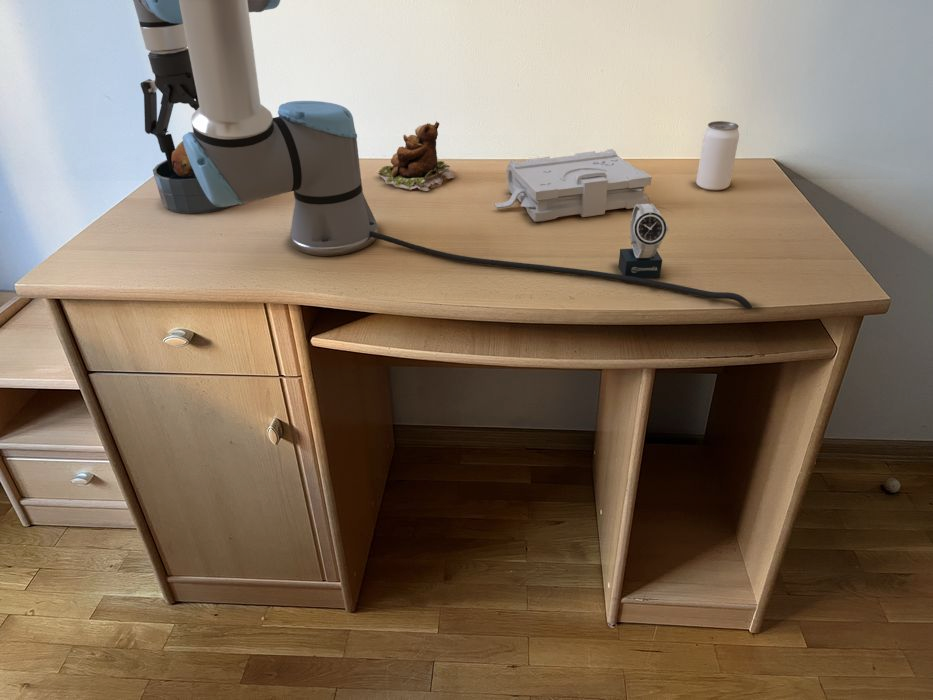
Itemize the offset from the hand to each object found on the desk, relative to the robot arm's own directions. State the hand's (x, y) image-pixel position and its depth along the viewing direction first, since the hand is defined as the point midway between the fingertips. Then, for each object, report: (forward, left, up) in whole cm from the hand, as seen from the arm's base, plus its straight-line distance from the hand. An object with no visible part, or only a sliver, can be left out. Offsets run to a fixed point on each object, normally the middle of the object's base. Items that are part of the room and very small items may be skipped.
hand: (199, 168), depth 135 cm
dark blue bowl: (0, 0, -6) cm, 6 cm away
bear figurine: (-23, -37, -6) cm, 44 cm away
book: (-54, -49, -6) cm, 73 cm away
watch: (-82, -35, -6) cm, 89 cm away
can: (-70, -76, -6) cm, 104 cm away
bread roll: (0, 0, 0) cm, 0 cm away
